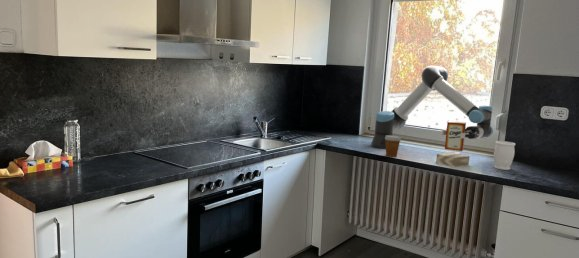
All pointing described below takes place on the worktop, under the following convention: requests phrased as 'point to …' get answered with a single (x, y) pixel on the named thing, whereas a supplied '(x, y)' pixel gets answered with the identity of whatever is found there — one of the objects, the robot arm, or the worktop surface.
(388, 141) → the disposable coffee cup
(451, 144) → the baking soda box
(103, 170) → the worktop surface
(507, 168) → the jar
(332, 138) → the worktop surface
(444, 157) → the plinth
